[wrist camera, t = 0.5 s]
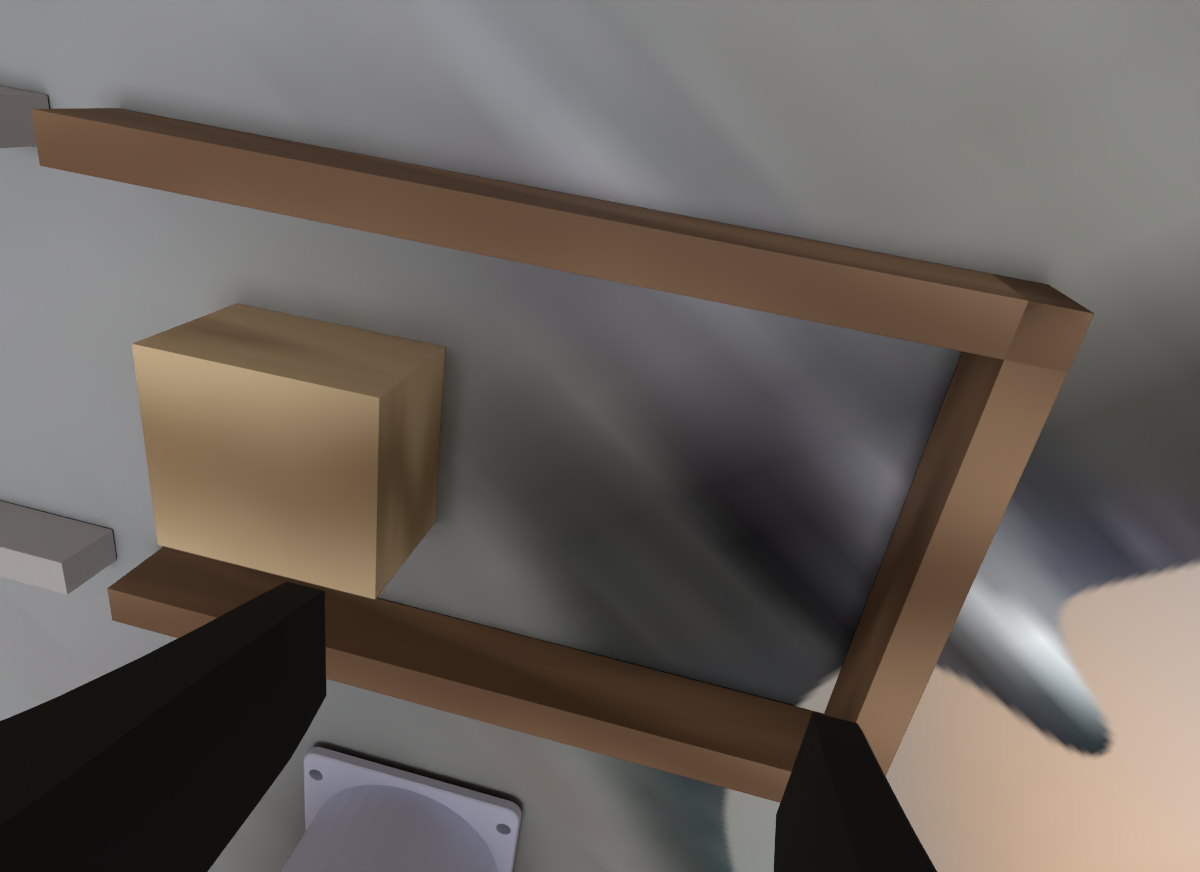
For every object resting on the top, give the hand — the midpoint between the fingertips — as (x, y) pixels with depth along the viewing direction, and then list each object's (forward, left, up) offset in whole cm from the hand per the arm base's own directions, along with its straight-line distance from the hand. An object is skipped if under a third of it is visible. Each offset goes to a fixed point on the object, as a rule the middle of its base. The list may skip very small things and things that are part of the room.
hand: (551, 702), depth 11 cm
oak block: (-2, +9, -10) cm, 13 cm away
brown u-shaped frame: (-2, +3, -10) cm, 10 cm away
